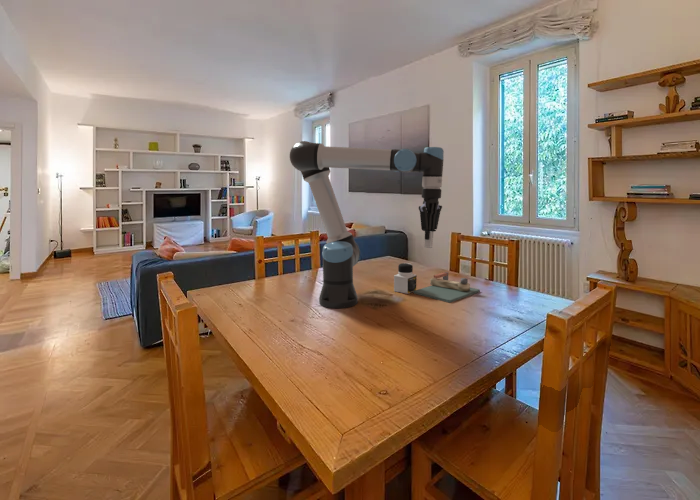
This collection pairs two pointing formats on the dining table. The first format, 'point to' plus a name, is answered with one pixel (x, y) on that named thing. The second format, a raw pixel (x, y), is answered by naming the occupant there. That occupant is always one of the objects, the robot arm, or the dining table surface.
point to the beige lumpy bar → (450, 284)
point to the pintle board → (445, 290)
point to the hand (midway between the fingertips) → (428, 247)
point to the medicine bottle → (405, 279)
